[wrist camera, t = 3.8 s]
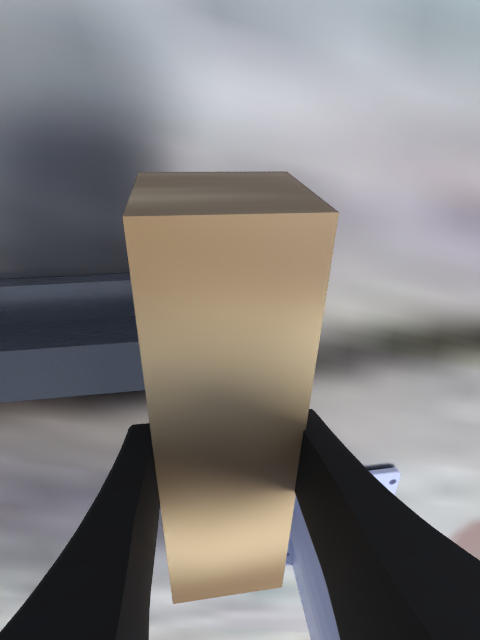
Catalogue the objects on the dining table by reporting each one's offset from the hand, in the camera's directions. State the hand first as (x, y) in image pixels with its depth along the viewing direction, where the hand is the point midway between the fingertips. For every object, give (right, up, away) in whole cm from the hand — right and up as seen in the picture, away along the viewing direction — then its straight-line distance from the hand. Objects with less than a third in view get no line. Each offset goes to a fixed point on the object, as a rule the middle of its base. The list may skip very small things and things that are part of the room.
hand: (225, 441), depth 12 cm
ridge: (-6, +3, +7) cm, 10 cm away
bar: (0, +2, +2) cm, 3 cm away
